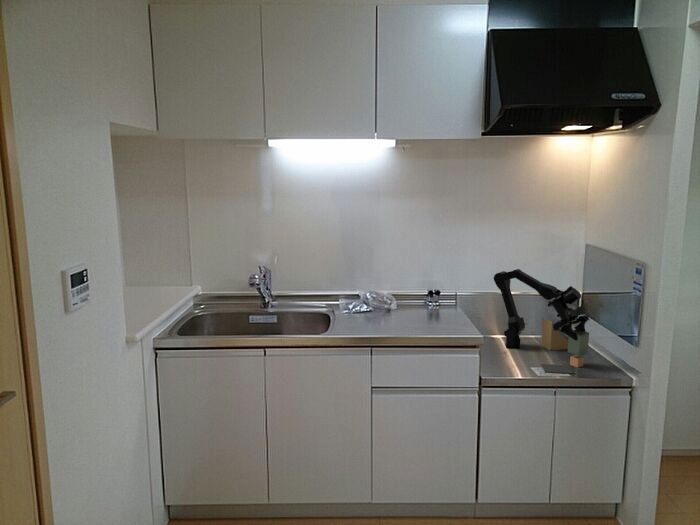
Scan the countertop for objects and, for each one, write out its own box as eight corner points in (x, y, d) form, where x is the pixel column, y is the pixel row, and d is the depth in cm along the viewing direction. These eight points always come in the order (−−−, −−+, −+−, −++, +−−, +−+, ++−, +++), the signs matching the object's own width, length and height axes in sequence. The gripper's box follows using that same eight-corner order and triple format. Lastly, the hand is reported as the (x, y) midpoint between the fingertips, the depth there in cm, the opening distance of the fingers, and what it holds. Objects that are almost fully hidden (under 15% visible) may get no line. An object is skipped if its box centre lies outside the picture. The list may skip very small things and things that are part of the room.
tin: (567, 351, 227) (569, 331, 226) (576, 349, 230) (577, 329, 228) (578, 356, 222) (580, 334, 220) (587, 353, 225) (589, 332, 223)
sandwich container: (577, 348, 249) (579, 320, 246) (550, 351, 246) (552, 322, 243) (567, 343, 257) (569, 315, 254) (540, 345, 254) (542, 317, 252)
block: (569, 364, 228) (570, 356, 227) (575, 363, 230) (576, 354, 229) (577, 367, 224) (578, 359, 224) (583, 365, 226) (583, 357, 226)
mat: (545, 372, 219) (545, 371, 219) (541, 364, 228) (541, 363, 228) (573, 374, 217) (573, 373, 217) (568, 366, 225) (568, 365, 225)
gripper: (559, 303, 221) (579, 333, 213) (587, 298, 229) (607, 327, 222) (544, 315, 229) (562, 345, 222) (572, 310, 238) (590, 338, 230)
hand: (581, 338), depth 224 cm, fingers closed on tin, 6 cm apart
